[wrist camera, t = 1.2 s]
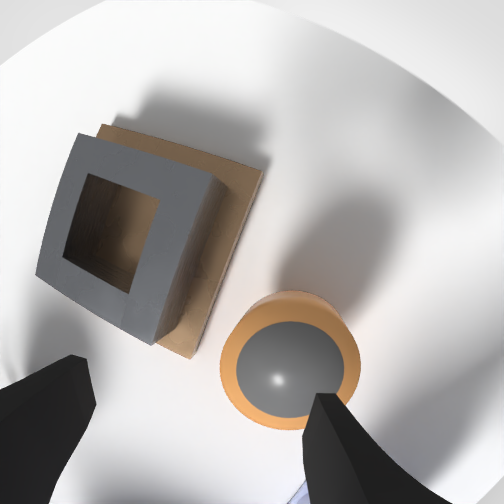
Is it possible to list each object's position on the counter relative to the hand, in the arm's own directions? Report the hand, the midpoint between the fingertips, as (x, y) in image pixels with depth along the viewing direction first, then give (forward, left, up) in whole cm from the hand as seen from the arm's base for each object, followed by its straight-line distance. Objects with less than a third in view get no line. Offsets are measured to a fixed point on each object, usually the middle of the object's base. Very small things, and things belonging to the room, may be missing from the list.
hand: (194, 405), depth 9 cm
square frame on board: (+8, -3, -10) cm, 13 cm away
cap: (-3, -1, -10) cm, 11 cm away
